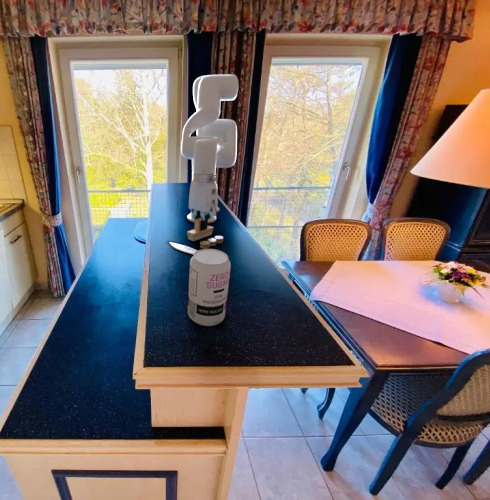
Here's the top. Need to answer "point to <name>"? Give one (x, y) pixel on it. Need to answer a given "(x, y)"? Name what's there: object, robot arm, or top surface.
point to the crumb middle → (212, 241)
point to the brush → (199, 231)
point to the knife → (184, 248)
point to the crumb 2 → (219, 239)
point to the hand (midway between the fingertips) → (200, 228)
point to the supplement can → (208, 286)
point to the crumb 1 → (204, 244)
